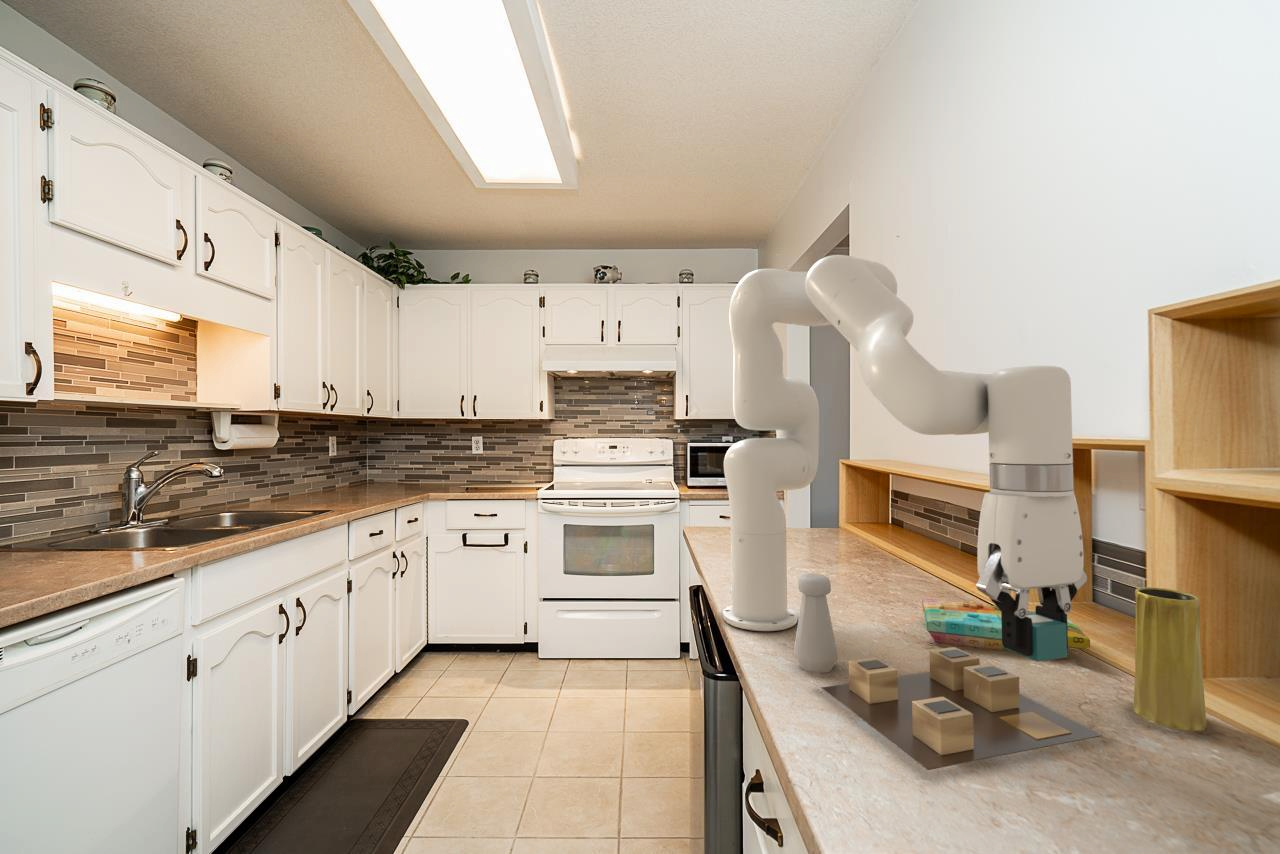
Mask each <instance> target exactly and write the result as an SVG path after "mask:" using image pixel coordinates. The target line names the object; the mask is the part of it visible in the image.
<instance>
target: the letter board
mask: <svg viewBox="0 0 1280 854" xmlns="http://www.w3.org/2000/svg"><path fill="white" fill-rule="evenodd" d="M820 688H821V689H822V690H823V691H824V692H826V694H828V695H829V696H830V697H832V698H833V699H835V700H836V701H837V702H838V703H840V704H841V705H843V706H844V707H846V709H847V710H849V711H850V712H851V713H852V714H854V715H855V716H856V717H858V718H859V719H861V720H862V721H863V722H864V723H866V724H867V725H868V726H870V727H871V728H872V729H873V730H875V731H876V732H877V733H878V734H879V735H881V736H883V737H884V738H885V739H887V740H888V741H889V742H890V743H891V744H893V745H894V746H896V747H897V748H898V749H899V750H901V751H902V752H903V753H904V754H905V755H907V756H908V757H910V758H911V759H912V760H914V761H915V762H916V763H917V764H918V765H920V766H921V767H922V768H924V769H925V770H926V771H930V770H934V769H935V770H936V769H940V768H945V767H949V766H956V765H960V764H965V763H971V762H975V761H976V762H977V761H980V760H986V759H991V758H995V757H1002V756H1006V755H1012V754H1015V753H1016V754H1017V753H1021V752H1027V751H1032V750H1037V749H1043V748H1047V747H1053V746H1058V745H1064V744H1068V743H1074V742H1078V741H1084V740H1088V739H1094V738H1098V737H1099V738H1100V737H1103V734H1101V733H1098V732H1097V731H1096V730H1095V731H1094V730H1093V729H1090V728H1088V727H1086V726H1084V725H1083V724H1080V723H1079V722H1077V721H1074V720H1072V719H1070V718H1069V717H1066V716H1064V715H1063V714H1060V713H1058V712H1057V711H1054V710H1053V709H1050V708H1048V707H1046V706H1044V705H1042V704H1040V703H1038V702H1036V701H1034V700H1032V699H1030V698H1028V697H1026V696H1024V695H1022V694H1020V693H1019V706H1020V707H1019V708H1014V709H1008V710H1002V711H996V712H991V711H989V710H987V709H985V708H983V707H982V706H980V705H978V704H976V703H974V702H973V701H971V700H969V699H967V698H966V697H964V689H963V690H957V691H953V690H951V689H949V688H948V687H946V686H944V685H942V684H940V683H939V682H937V681H935V680H933V679H932V678H930V671H928V672H927V671H926V672H920V673H914V674H905V675H898V700H892V701H886V702H880V703H873V704H869V703H868V702H866V701H865V700H863V699H862V698H861V697H859V696H858V695H856V694H855V693H854V692H852V691H851V690H850V689H849V683H843V684H836V685H829V686H822V687H820ZM937 697H945V698H947V699H948V700H950V701H952V702H953V703H955V704H957V705H958V706H960V707H962V708H964V709H965V710H967V711H969V712H970V713H972V714H973V734H974V749H973V750H967V751H962V752H957V753H951V754H946V755H940V754H939V753H937V752H936V751H934V750H933V749H932V748H930V747H929V746H927V745H926V744H925V743H923V742H922V741H920V740H919V739H918V738H916V737H915V736H914V735H913V723H912V701H918V700H924V699H930V698H937Z"/></svg>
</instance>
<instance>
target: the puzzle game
mask: <svg viewBox="0 0 1280 854" xmlns="http://www.w3.org/2000/svg"><path fill="white" fill-rule="evenodd" d="M921 609H922V614H923V619H924V622H925V627H926V631H927V632H928V634H929V635H930V636H931V639H933V642H934V643H942V644H950V645H958V646H967V647H974V648H984V649H990V650H998V651H1008V652H1011V651H1010V650H1008V649H1006V648H1004V646H1003V645H1002V620H1001V611H998V610H997V609H996V605H989V604H983V603H979V602H976V601H972V600H967V602H966V601H962V602H959V601H950V600H941V599H931V598H925V599H922V600H921ZM1031 612H1032V613H1035V609H1027V613H1031ZM1067 631H1068V649H1074V650H1075V649H1076V650H1087V649H1089V648H1091V640H1090V638H1089V637H1088V636H1087V635H1086V634H1085V633H1084V632H1083V631H1082V630H1081V629H1080V628H1079V627H1078V625H1076V624H1075V623H1074V622H1073V621H1072V620H1071V619H1070V618H1069V617H1068V616H1067Z"/></svg>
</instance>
